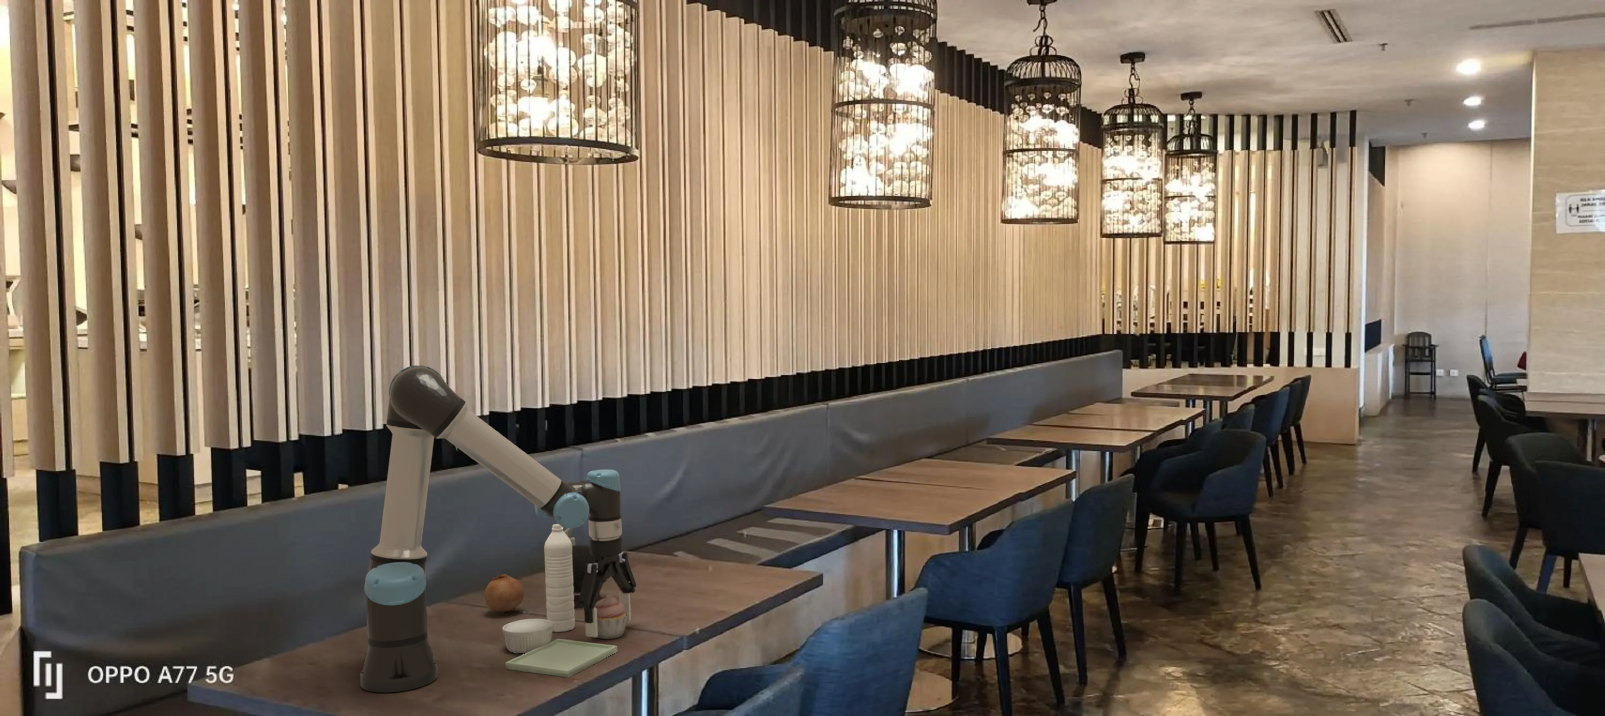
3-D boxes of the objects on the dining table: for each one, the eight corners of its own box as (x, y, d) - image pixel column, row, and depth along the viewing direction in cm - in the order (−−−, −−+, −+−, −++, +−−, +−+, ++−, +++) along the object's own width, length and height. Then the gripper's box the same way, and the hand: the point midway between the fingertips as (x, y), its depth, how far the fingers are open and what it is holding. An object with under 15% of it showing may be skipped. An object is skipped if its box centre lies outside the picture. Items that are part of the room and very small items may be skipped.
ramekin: (499, 645, 259) (498, 622, 259) (549, 638, 264) (548, 615, 263) (507, 658, 249) (506, 634, 249) (558, 651, 253) (557, 627, 253)
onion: (488, 620, 279) (486, 580, 279) (482, 611, 288) (481, 572, 287) (527, 615, 283) (526, 575, 283) (520, 606, 292) (519, 567, 291)
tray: (567, 677, 235) (567, 670, 235) (505, 668, 241) (505, 662, 241) (617, 652, 251) (617, 645, 251) (558, 644, 258) (557, 638, 258)
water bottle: (558, 634, 266) (555, 528, 265) (541, 629, 270) (537, 525, 269) (588, 625, 273) (584, 521, 272) (570, 620, 277) (566, 519, 276)
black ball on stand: (602, 594, 302) (600, 538, 301) (609, 606, 290) (607, 547, 289) (551, 599, 298) (549, 542, 297) (557, 611, 286) (554, 552, 285)
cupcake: (596, 629, 269) (594, 587, 269) (634, 630, 268) (633, 588, 267) (583, 641, 260) (581, 598, 259) (622, 642, 259) (621, 598, 258)
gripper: (587, 549, 250) (590, 645, 251) (648, 527, 272) (651, 615, 274) (559, 547, 253) (562, 641, 254) (622, 526, 276) (625, 612, 277)
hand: (608, 628), depth 264 cm, fingers open, 13 cm apart
